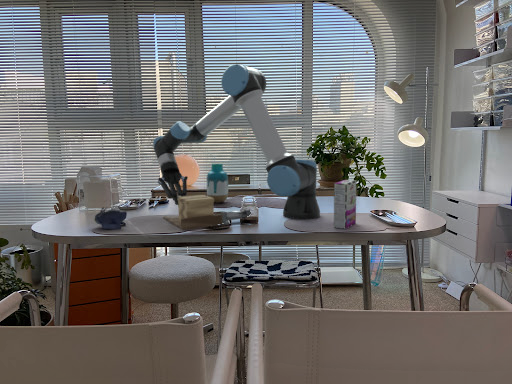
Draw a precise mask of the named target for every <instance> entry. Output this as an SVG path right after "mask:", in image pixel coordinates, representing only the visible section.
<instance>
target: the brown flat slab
mask: <svg viewBox="0 0 512 384" xmlns="http://www.w3.org/2000/svg"><path fill="white" fill-rule="evenodd" d="M163 219H164V220H166V221H168V222H169V223H170V224H172V225H173V226H175V227H177V228H178V229H180V230H182V231H184V230H186V231H187V230H188V231H191V230H195V229H196V230H199V229H203V228H204V229H207V228H208V227H209V226H210V225H217V224H222V219H221V214H220V213H217V214H214V215H208V216H199V217H190V218H181V224H180V223H179V215H178V216H167V215H165V216H163ZM222 225H223V224H222ZM210 227H211V226H210ZM210 227H209V228H210Z"/></svg>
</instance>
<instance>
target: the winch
mask: <svg viewBox="0 0 512 384" xmlns="http://www.w3.org/2000/svg"><path fill="white" fill-rule="evenodd" d="M250 210H251V209H250V208H244V209H241V210H240V209H239V210H233V211H224V210H223V211H219V214H221V219H222V223H227V221H233V220H234V221H235V220H244V218H246V217H247V216H249V215H250V214H251V215H252V213H251V212H250ZM251 215H250V216H251ZM227 224H228V223H227Z"/></svg>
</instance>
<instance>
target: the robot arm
mask: <svg viewBox="0 0 512 384" xmlns="http://www.w3.org/2000/svg"><path fill="white" fill-rule="evenodd" d="M220 83H221V88H222V90H223V91H224V92H225V94H227V95H228V96H227V97H226V98H224V99H223V100H222V101H221V102H220V103H218V104H217V105H216V106H215V107H213V109H211V110H210V111H209V112H207V114H205V115H204V116H203V117H202V118H200V119H199V120H198V121H196V122H195V123H194V124H193V125H192V126H189V125H188V124H186V123H185V122H183V121H180V120H179V121H176V122H175V123H174V124H173V125H172V126H171V127H170V128H169V129H168V131H167V132H166V133H165V134H164V135H159V136H158V137H155V138H154V139H153V143H152V145H153V150H154V154H155V155H156V159H157V162H158V167H159V168H160V173H161V177H158V179H157V184H159V186H160V187H161V188H162V189H163V191H164V192H165V194H166V196H167V198H168V199H172V201H173V202H174V205H176V206H178V200H177V197H181V196H187V193H188V189H187V187H188V185H187V183H188V182H187V180H188V176H187V175H186V176H185V175H184V176H183V174H182V173H181V172H180V169H179V168H180V167H179V166H178V162H177V159H176V156H175V154H174V153H175V151H176V150H177V149H178V147H179V146H180V145H183V144H186V145H187V144H189V145H190V144H201V143H204V142H206V140H207V139H208V136H209V135H210V134H211V133H212V132H213V131H215V130H216V129H218V127H220V126H222V124H224V123H225V122H226V121H228V120H229V119H230V118H232V117H234V115H235V114H237V113H238V112H239V111H240V110H242V112H243V115H244V117H245V118H246V121H247V123H248V125H249V127H250V130H251V132H252V133H253V135H254V137H255V140H256V143H257V144H258V146H259V148H260V150H261V152H262V154H263V156H264V158H265V161H266V166H265V171H266V172H267V177H266V183H267V186H268V188H269V190H270V191H271V192H272V193H273V194H275V195H277V196H278V197H286V198H287V199H286V200H285V203H284V207H283V210H282V211H283V212H282V213H283V214H282V216H283V218H286V219H290V220H314V218H315V219H319V218H320V217H321V210H320V206H319V204H318V200H317V171H318V168H317V163H316V161H315V160H312V159H311V160H310V159H297V158H295V156H294V154H291V153H289V152H288V151H287V148H286V146H285V144H284V142H283V140H282V138H281V136H280V134H279V132H278V129H277V128H276V125H275V123H274V121H273V119H272V117H271V115H270V112H269V110H268V109H267V107H266V104H265V102H264V100H263V98H262V96H263V94H264V93H265V92H266V89H267V80H266V76H265V75H264V73H263V72H262V71H261V70H259V69H257V68H254V67H249V66H247V65H244V64H242V63H241V64H240V63H239V64H238V63H237V64H236V63H235V64H231V65H229V66H228V67H227V68H226V69H225V70H224V72H222V77H221V82H220ZM180 181H181V182H182V186H181V184H180Z"/></svg>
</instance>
